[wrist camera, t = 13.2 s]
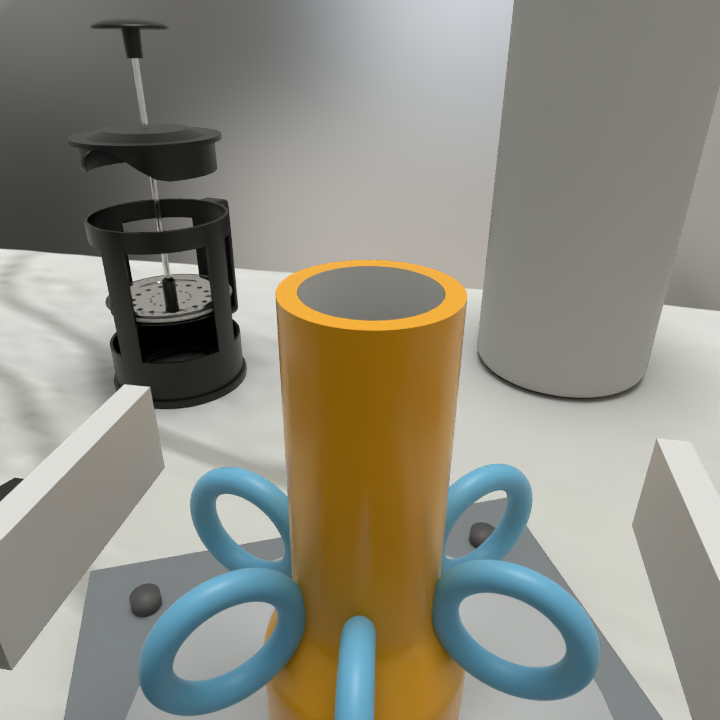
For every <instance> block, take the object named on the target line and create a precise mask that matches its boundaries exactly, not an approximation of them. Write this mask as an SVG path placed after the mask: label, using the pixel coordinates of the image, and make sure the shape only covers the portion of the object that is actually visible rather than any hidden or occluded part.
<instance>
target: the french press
mask: <svg viewBox="0 0 720 720" xmlns="http://www.w3.org/2000/svg"><path fill="white" fill-rule="evenodd" d="M91 28H94V29H121V31H122V36H123V41H124V46H125V51H126V56H127V58H132V64H133V70H134V76H135V84H136V89H137V97H138V103H139V109H140V116H141V123H142V124H131V125H119V126H112V127H107V128H103V129H101V130H93V131H87V132H81V133H77V134H73V135H71V136H69V137H67V141H68V144H69V145H70V146H72V147H76V148H77V149H78V154H79V159H80V164H81V169H82V171H84V172H88V171H89V170H91V169H94V168H97V167H101V166H105V165H110V164H116V163H123V162H126V163H128V164H129V165H131V166H132V167H134V168H135V169H137V170H138V171H140V172H142V173H144V174H146V175H148V176H149V177H150V182H151V189H152V195H153V199H151V200H140V201H133V202H127V203H121V204H116V205H112V206H108V207H105V208H102V209H99V210H96V211H94V212H92V213H90V214H89V215H87V216H86V217H85V219H84V222H85V227H86V232H87V237H88V241H89V244H90V245H91V246H93V247H94V248H97V249H99V250H101V256H102V261H103V266H104V271H105V276H106V281H107V286H108V291H109V296H108V297H107V299H106V306H107V307H108V308H109V309H110V310H111V314H112V315H113V316H114V321H115V326H116V331H117V332H116V333H115V334H114V335H113V337H112V338H111V341H110V347H111V352H112V357H113V362H114V367H115V371H116V374H115V378H114V383H115V387H116V391H118V390H119V389H120V388H121V387H122V386H123V385H124V384H126V385H135V386H145V387H150V389H151V395H152V400H153V406H154V408H180V407H188V406H193V405H197V404H202V403H205V402H208V401H211V400H214V399H217V398H219V397H221V396H223V395H225V394H227V393H228V392H230V391H232V390H233V389H235V388H236V387H237V386H238V385H239V384H240V383H241V382H242V380H243V379H244V377H245V374H246V370H247V368H246V362H245V359H244V358H243V356H242V348H241V337H240V329H239V325H238V324H237V323H236V322H235V321H234V320H233V319H232V314H233V313H234V312H236V311H237V309H238V301H237V290H236V280H235V269H234V259H233V248H232V238H231V228H230V217H229V207H228V202H227V200H224V199H216V198H204V199H201V200H197V199H180V198H179V199H178V198H177V199H159V195H158V189H157V182H156V180H163V181H178V180H186V179H191V178H196V177H201V176H205V175H208V174H211V173H213V172H215V171H216V169H217V162H216V153H215V142H217V141H219V140H220V139H221V133H220V132H219V131H217V130H213V129H208V128H199V127H188V126H184V125H176V124H148V121H147V114H146V107H145V101H144V95H143V87H142V80H141V73H140V67H139V60H138V58H143V53H142V45H141V34H140V30H144V29H145V30H147V29H148V30H154V29H155V30H158V29H159V30H160V29H169V28H168V26H166V25H164V24H162V23H159V22H155V21H149V20H141V19H111V20H104V21H99V22H96V23H94V24H92V25H91ZM164 217H191V218H192V220H193V227H191V228H186V229H180V230H171V231H164V229H163V222H162V218H164ZM151 218H156V221H157V228H158V232H123V226H122V223H126V222H131V221H136V220H143V219H151ZM192 249H196V251H197V252H196V253H197V261H198V269H199V275H197V274H185V275H184V274H173V275H170V270H169V263H168V256H167V253H173V252H181V251H186V250H192ZM128 254H134V255H142V254H143V255H146V254H162V261H163V267H164V274H165V275H162V276H155V277H150V278H145V279H141V280H138V281H134V282H132V276H131V271H130V265H129V260H128ZM180 351H205V352H211V354H208V355H206V356H202V357H199V358H195V359H190V360H185V361H178V362H166V363H153V362H147V361H149V360H151V359H153V358H156V357H158V356H161V355H165V354H168V353H174V352H180Z"/></svg>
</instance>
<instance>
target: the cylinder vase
mask: <svg viewBox="0 0 720 720" xmlns="http://www.w3.org/2000/svg"><path fill="white" fill-rule="evenodd" d="M719 86H720V0H514V6H513V16H512V25H511V34H510V43H509V53H508V62H507V72H506V81H505V91H504V99H503V109H502V118H501V128H500V138H499V146H498V155H497V165H496V175H495V183H494V193H493V202H492V211H491V221H490V231H489V240H488V250H487V258H486V269H485V277H484V286H483V296H482V305H481V314H480V324H479V333H478V343H477V346H478V352H479V354H480V357H481V358H482V360H483V362H484V363H485V364H486V365H487V366H488V367H489V368H490V369H491V370H492V371H493V372H494V373H496V374H497V375H499V376H500V377H502V378H504V379H505V380H507V381H509V382H511V383H513V384H516V385H518V386H520V387H523V388H526V389H529V390H532V391H536V392H540V393H544V394H549V395H554V396H562V397H572V398H593V397H602V396H608V395H613V394H616V393H620V392H622V391H625V390H627V389H629V388H631V387H632V386H634V385H635V384H637V383H638V382H639V381H640V380H641V379H642V377H643V376H644V374H645V372H646V369H647V365H648V361H649V357H650V354H651V350H652V346H653V342H654V338H655V334H656V330H657V326H658V323H659V319H660V315H661V311H662V307H663V303H664V299H665V295H666V291H667V288H668V283H669V279H670V276H671V272H672V268H673V264H674V260H675V256H676V252H677V249H678V245H679V241H680V237H681V233H682V229H683V225H684V222H685V217H686V214H687V210H688V206H689V202H690V198H691V194H692V190H693V186H694V183H695V179H696V175H697V170H698V167H699V163H700V159H701V155H702V151H703V148H704V144H705V140H706V136H707V132H708V128H709V124H710V120H711V116H712V113H713V109H714V105H715V101H716V97H717V93H718V89H719Z"/></svg>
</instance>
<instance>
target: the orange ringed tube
mask: <svg viewBox="0 0 720 720" xmlns="http://www.w3.org/2000/svg"><path fill="white" fill-rule="evenodd" d="M466 304H467V293H466V290H465V288H464V287H463V286H462V285H461V284H460V283H459V282H458V281H457V280H455V279H454V278H452V277H450V276H449V275H447V274H444V273H442V272H439V271H437V270H434V269H431V268H427V267H423V266H420V265H415V264H409V263H403V262H395V261H384V260H352V261H341V262H333V263H327V264H322V265H317V266H313V267H310V268H306V269H304V270H301V271H298V272H296V273H294V274H292V275H290V276H288V277H287V278H286V279H284V280H283V281H282V282H281V283H280V284H279V285H278V287H277V289H276V310H277V326H278V343H279V359H280V375H281V391H282V408H283V424H284V441H285V457H286V474H287V491H288V497H287V496H286V495H285V494H284V493H283V492H282V491H281V490H280V489H279V488H278V487H276V486H275V485H274V484H273V483H271V482H270V481H268V480H267V479H265V478H263V477H262V476H260V475H258V474H256V473H253V472H251V471H248V470H245V469H241V468H235V467H223V468H218V469H214V470H212V471H210V472H208V473H206V474H205V475H203V476H202V477H201V478H200V479H199V480H198V482H197V483H196V485H195V487H194V489H193V491H192V495H191V501H190V509H191V516H192V520H193V523H194V526H195V529H196V531H197V533H198V535H199V537H200V539H201V540H202V542H203V544H204V545H205V546H206V548H207V549H208V550H209V552H210V553H211V554H212V555H213V556H214V557H215V558H216V560H217V561H218V562H220V563H221V564H222V565H223V566H224V567H225V568H226V569H228V570H229V571H230V572H227V573H224V574H221V575H218V576H216V577H213V578H211V579H209V580H207V581H205V582H203V583H201V584H200V585H198V586H196V587H195V588H193V589H191V590H190V591H189V592H187V593H186V594H184V595H183V596H182V597H180V598H179V599H178V600H177V601H176V602H175V603H173V604H172V605H171V606H170V607H169V608H168V609H167V610H166V611H165V612H164V614H163V615H162V616H161V617H160V618H159V619H158V621H157V622H156V623H155V625H154V626H153V628H152V629H151V631H150V633H149V634H148V636H147V638H146V640H145V642H144V645H143V647H142V650H141V653H140V657H139V663H138V678H139V683H140V687H141V689H142V692H143V694H144V695H145V697H146V698H147V699H148V701H149V702H150V703H151V704H152V705H154V706H155V707H156V708H158V709H160V710H161V711H164V712H166V713H169V714H173V715H178V716H197V715H204V714H209V713H213V712H216V711H219V710H222V709H225V708H227V707H230V706H232V705H234V704H236V703H238V702H240V701H242V700H244V699H246V698H247V697H249V696H251V695H252V694H254V693H255V692H257V691H258V690H259V689H261V688H262V687H263V686H265V685H266V689H267V699H268V708H269V718H270V720H459V715H460V708H461V700H462V693H463V686H464V679H465V671H466V672H468V673H469V674H470V675H472V676H473V677H474V678H476V679H477V680H479V681H481V682H482V683H484V684H486V685H488V686H490V687H492V688H494V689H496V690H498V691H500V692H503V693H505V694H508V695H511V696H515V697H518V698H523V699H528V700H536V701H553V700H560V699H564V698H567V697H570V696H573V695H575V694H577V693H579V692H580V691H582V690H583V689H584V688H585V687H587V686H588V685H589V683H590V682H591V681H592V680H593V678H594V676H595V675H596V672H597V670H598V667H599V663H600V644H599V639H598V635H597V632H596V630H595V627H594V625H593V623H592V621H591V619H590V618H589V616H588V614H587V613H586V612H585V610H584V609H583V608H582V606H581V605H580V604H579V603H578V602H577V601H576V599H575V598H574V597H573V596H572V595H570V594H569V593H568V592H567V591H566V590H565V589H564V588H562V587H561V586H560V585H558V584H557V583H555V582H554V581H552V580H551V579H549V578H548V577H546V576H544V575H542V574H540V573H538V572H536V571H534V570H532V569H529V568H527V567H524V566H521V565H518V564H515V563H511V562H506V561H501V560H502V559H503V558H504V557H505V556H506V555H507V554H508V553H509V552H510V550H511V549H512V548H513V547H514V545H515V544H516V542H517V541H518V539H519V538H520V536H521V534H522V533H523V531H524V529H525V527H526V524H527V522H528V519H529V516H530V512H531V508H532V490H531V486H530V484H529V481H528V480H527V478H526V477H525V475H524V474H523V473H522V472H521V471H519V470H518V469H516V468H515V467H512V466H510V465H506V464H491V465H486V466H483V467H480V468H478V469H475V470H473V471H471V472H469V473H468V474H466V475H464V476H463V477H461V478H460V479H459V480H457V481H456V482H455V483H454V484H453V485H452V486H450V487H449V480H450V469H451V459H452V449H453V438H454V428H455V417H456V407H457V397H458V386H459V376H460V366H461V355H462V345H463V335H464V324H465V314H466ZM497 490H504V491H506V493H507V505H506V509H505V512H504V514H503V517H502V519H501V521H500V522H499V524H498V526H497V527H496V529H495V530H494V531H493V533H492V534H491V535H490V536H489V537H488V539H487V540H486V541H485V542H484V543H482V544H481V545H480V546H479V547H478V548H476V549H475V550H474V551H472V552H470V553H469V554H467V555H465V556H462V557H460V558H456V559H448V558H446V556H445V545H446V541H447V538H448V536H449V534H450V531H451V530H452V528H453V526H454V524H455V523H456V521H457V520H458V519H459V517H460V516H461V515H462V514H463V513H464V512H465V510H466V509H467V508H468V507H469V506H471V505H472V504H473V503H474V502H475V501H477V500H478V499H479V498H481V497H482V496H484V495H486V494H488V493H490V492H493V491H497ZM221 494H233V495H237V496H240V497H242V498H244V499H246V500H248V501H250V502H251V503H253V504H254V505H256V506H257V507H258V508H259V509H261V510H262V511H263V512H264V513H265V514H266V515H267V516H268V517H269V518H270V519H271V521H272V522H273V523H274V525H275V526H276V528H277V529H278V531H279V533H280V535H281V537H282V539H283V543H284V547H285V555H284V557H283V559H281V560H279V561H267V560H263V559H260V558H258V557H255V556H253V555H252V554H250V553H248V552H247V551H245V550H244V549H243V548H241V547H240V546H239V545H238V544H237V543H236V542H235V541H234V540H233V539H232V538H231V537H230V536H229V535H228V533H227V532H226V531H225V529H224V528H223V526H222V524H221V522H220V520H219V518H218V515H217V511H216V499H217V497H218V496H219V495H221ZM479 593H495V594H501V595H505V596H509V597H512V598H515V599H517V600H520V601H522V602H524V603H526V604H528V605H530V606H532V607H533V608H535V609H536V610H538V611H539V612H541V613H542V614H543V615H544V616H546V617H547V618H548V619H549V620H550V621H551V622H552V623H553V624H554V625H555V626H556V628H557V629H558V630H559V632H560V633H561V635H562V637H563V639H564V641H565V645H566V653H565V655H564V657H563V658H562V659H561V660H560V661H559V662H557V663H555V664H553V665H550V666H545V667H530V666H523V665H519V664H515V663H512V662H509V661H507V660H504V659H502V658H500V657H498V656H496V655H494V654H493V653H491V652H489V651H488V650H487V649H485V648H484V647H482V646H481V645H480V644H479V643H478V642H477V641H476V640H475V639H474V638H473V637H472V636H471V635H470V634H469V633H468V631H467V630H466V629H465V627H464V625H463V623H462V621H461V619H460V615H459V606H460V604H461V602H462V601H463V600H464V599H465V598H467V597H468V596H471V595H474V594H479ZM248 602H265V603H268V604H271V605H272V606H274V607H275V609H274V611H273V613H272V615H271V617H270V620H269V623H268V626H267V630H266V634H265V640H264V645H263V646H262V647H261V649H260V650H259V651H258V652H257V653H256V654H254V655H253V656H252V657H251V658H250V659H248V660H247V661H246V662H244V663H243V664H242V665H240V666H238V667H237V668H235V669H233V670H231V671H229V672H227V673H225V674H223V675H220V676H217V677H214V678H211V679H206V680H199V681H191V680H185V679H182V678H180V677H178V676H177V675H176V674H175V672H174V670H173V663H174V659H175V656H176V654H177V652H178V650H179V648H180V647H181V645H182V644H183V642H184V641H185V640H186V639H187V638H188V636H189V635H190V634H191V633H192V632H193V631H194V630H195V629H196V628H198V627H199V626H200V625H201V624H202V623H204V622H205V621H207V620H208V619H209V618H211V617H213V616H214V615H216V614H218V613H219V612H221V611H223V610H226V609H228V608H230V607H233V606H236V605H239V604H243V603H248Z"/></svg>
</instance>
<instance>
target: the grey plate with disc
mask: <svg viewBox="0 0 720 720" xmlns="http://www.w3.org/2000/svg"><path fill="white" fill-rule="evenodd" d="M506 505H507V498H503V499H497V500H491V501H486V502H480V503H474V504H472V505H471V506H469V507H468V508H467V509H466V510H465V512H464V513H463V514H462V515H461V516H460V517H459V519H458V520H457V521H456V523H455V524H454V526H453V528H452V530H451V531H450V534H449V536H448V538H447V541H446V545H445V556H446V558H448V559H456V558H460V557H462V556H465V555H467V554H469V553H470V552H472V551H474V550H475V549H476V548H478V547H479V546H480V545H481V544H482V543H484V542H485V541H486V540H487V539H488V537H489V536H490V535H491V534H492V533H493V531H494V530H495V529H496V527H497V526H498V524H499V522H500V521H501V519H502V517H503V514H504V512H505V509H506ZM239 546H240V547H241V548H243V549H244V550H245V551H247V552H248V553H250V554H252V555H253V556H255V557H258V558H260V559H263V560H267V561H279V560H281V559H283V557H284V555H285V547H284V543H283V539H282V537H281V538H276V539H270V540H264V541H259V542H253V543H247V544H242V545H239ZM501 561H506V562H511V563H515V564H518V565H521V566H524V567H527V568H529V569H532V570H534V571H536V572H538V573H540V574H542V575H544V576H546V577H548V578H549V579H551V580H552V581H554V582H555V583H557V584H558V585H560V586H561V587H562V588H564V589H565V590H566V591H567V592H568V593H569V594H570V595H572V596H573V597H574V598H575V599H576V601H577V602H578V603H579V604H580V605H581V606H582V608H583V609H584V610H585V608H584V607H583V605H582V604H581V603H580V601H579V600H578V598H577V597H576V596H575V594H574V593H573V591H572V590H571V589H570V587H569V586H568V584H567V583H566V581H565V580H564V579H563V577H562V576H561V574H560V573H559V572H558V570H557V569H556V567H555V566H554V564H553V563H552V562H551V560H550V559H549V557H548V556H547V555H546V553H545V552H544V550H543V549H542V547H541V546H540V545H539V543H538V542H537V540H536V539H535V538H534V536H533V535H532V533H531V532H530V530H529V529H528V528H527V526H526V527H525V529H524V531H523V533H522V534H521V536H520V538H519V539H518V541H517V542H516V544H515V545H514V547H513V548H512V549H511V550H510V552H509V553H508V554H507V555H506V556H505V557H504V558H503V559H502V560H501ZM227 572H230V571H229V570H228V569H226V568H225V567H224V566H223V565H222V564H221V563H220V562H218V561H217V560H216V558H215V557H214V556H213V555H212V554H211V553H210V552H209V550H208V551H202V552H196V553H191V554H185V555H179V556H174V557H168V558H162V559H157V560H151V561H145V562H140V563H134V564H128V565H123V566H117V567H111V568H106V569H100V570H94V571H91V572H90V577H89V583H88V589H87V594H86V600H85V605H84V611H83V616H82V622H81V628H80V633H79V639H78V644H77V650H76V655H75V661H74V667H73V672H72V678H71V683H70V689H69V695H68V700H67V706H66V711H65V717H64V720H270V718H269V708H268V699H267V689H266V685H265V686H263V687H262V688H261V689H259V690H258V691H257V692H255V693H254V694H252V695H251V696H249V697H247V698H246V699H244V700H242V701H240V702H238V703H236V704H234V705H232V706H230V707H227V708H225V709H222V710H219V711H216V712H213V713H209V714H204V715H197V716H178V715H173V714H169V713H166V712H164V711H161V710H160V709H158V708H156V707H155V706H154V705H152V704H151V703H150V702H149V701H148V699H147V698H146V697H145V695H144V694H143V692H142V689H141V687H140V683H139V678H138V663H139V657H140V653H141V650H142V647H143V645H144V642H145V640H146V638H147V636H148V634H149V633H150V631H151V629H152V628H153V626H154V625H155V623H156V622H157V621H158V619H159V618H160V617H161V616H162V615H163V614H164V612H165V611H166V610H167V609H168V608H169V607H170V606H171V605H172V604H173V603H175V602H176V601H177V600H178V599H179V598H180V597H182V596H183V595H184V594H186V593H187V592H189V591H190V590H191V589H193V588H195V587H196V586H198V585H200V584H201V583H203V582H205V581H207V580H209V579H211V578H213V577H216V576H218V575H221V574H224V573H227ZM274 609H275V607H274V606H272V605H271V604H268V603H265V602H248V603H243V604H239V605H236V606H233V607H230V608H228V609H226V610H223V611H221V612H219V613H218V614H216V615H214V616H213V617H211V618H209V619H208V620H207V621H205V622H204V623H202V624H201V625H200V626H199V627H198V628H196V629H195V630H194V631H193V632H192V633H191V634H190V635H189V636H188V638H187V639H186V640H185V641H184V642H183V644H182V645H181V647H180V648H179V650H178V652H177V654H176V656H175V659H174V663H173V670H174V672H175V674H176V675H177V676H178V677H180V678H182V679H185V680H191V681H199V680H206V679H211V678H214V677H217V676H220V675H223V674H225V673H227V672H229V671H231V670H233V669H235V668H237V667H238V666H240V665H242V664H243V663H244V662H246V661H247V660H248V659H250V658H251V657H252V656H253V655H254V654H256V653H257V652H258V651H259V650H260V649H261V647H262V646H263V645H264V640H265V634H266V630H267V626H268V623H269V620H270V617H271V615H272V613H273V611H274ZM585 612H586V613H587V611H586V610H585ZM587 614H588V613H587ZM459 615H460V619H461V621H462V623H463V625H464V627H465V629H466V630H467V631H468V633H469V634H470V635H471V636H472V637H473V638H474V639H475V640H476V641H477V642H478V643H479V644H480V645H481V646H482V647H484V648H485V649H487V650H488V651H489V652H491V653H493V654H494V655H496V656H498V657H500V658H502V659H504V660H507V661H509V662H512V663H515V664H519V665H523V666H530V667H545V666H550V665H553V664H555V663H557V662H559V661H560V660H561V659H562V658H563V657H564V655H565V653H566V645H565V641H564V639H563V637H562V635H561V633H560V632H559V630H558V629H557V628H556V626H555V625H554V624H553V623H552V622H551V621H550V620H549V619H548V618H547V617H546V616H544V615H543V614H542V613H541V612H539V611H538V610H536V609H535V608H533V607H532V606H530V605H528V604H526V603H524V602H522V601H520V600H517V599H515V598H512V597H509V596H505V595H501V594H495V593H479V594H474V595H471V596H468V597H467V598H465V599H464V600H463V601H462V602H461V604H460V606H459ZM588 616H589V618H590V619H591V621H592V623H593V625H594V627H595V630H596V632H597V635H598V639H599V644H600V663H599V667H598V670H597V672H596V675H595V676H594V678H593V680H592V681H591V682H590V683H589V685H588V686H587V687H585V688H584V689H583V690H582V691H580V692H579V693H577V694H575V695H573V696H570V697H567V698H564V699H560V700H553V701H536V700H528V699H523V698H518V697H515V696H511V695H508V694H505V693H503V692H500V691H498V690H496V689H494V688H492V687H490V686H488V685H486V684H484V683H482V682H481V681H479V680H477V679H476V678H474V677H473V676H472V675H470V674H469V673H468V672H466V671H465V679H464V686H463V693H462V700H461V708H460V715H459V720H663V719H662V717H661V716H660V715H659V713H658V712H657V710H656V709H655V707H654V706H653V705H652V703H651V702H650V700H649V699H648V698H647V696H646V695H645V693H644V692H643V690H642V689H641V688H640V686H639V685H638V683H637V682H636V681H635V679H634V678H633V676H632V675H631V673H630V672H629V671H628V669H627V668H626V666H625V665H624V664H623V662H622V661H621V659H620V658H619V656H618V655H617V654H616V652H615V651H614V649H613V648H612V647H611V645H610V644H609V642H608V641H607V639H606V638H605V637H604V635H603V634H602V632H601V631H600V630H599V628H598V627H597V625H596V624H595V622H594V621H593V620H592V618H591V617H590V615H589V614H588Z"/></svg>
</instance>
